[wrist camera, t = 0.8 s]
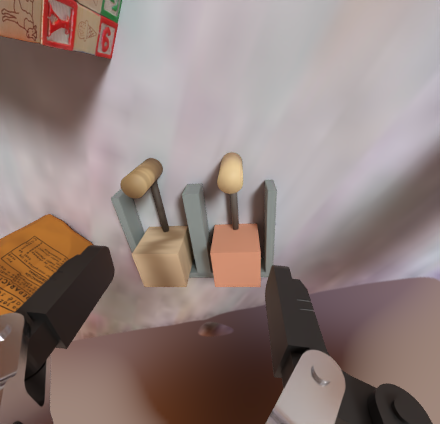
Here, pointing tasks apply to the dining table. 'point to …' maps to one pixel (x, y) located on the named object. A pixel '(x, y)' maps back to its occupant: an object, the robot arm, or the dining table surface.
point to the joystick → (235, 236)
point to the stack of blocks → (63, 23)
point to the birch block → (159, 235)
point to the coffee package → (34, 258)
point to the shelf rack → (198, 226)
